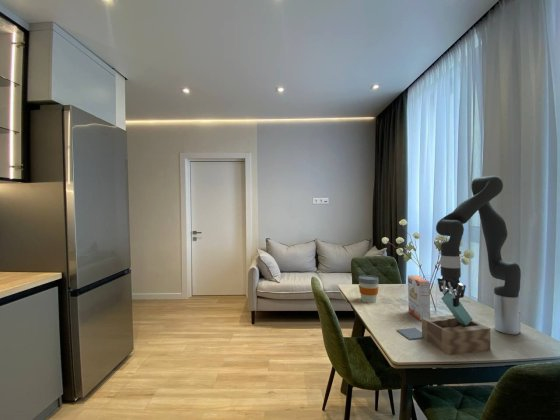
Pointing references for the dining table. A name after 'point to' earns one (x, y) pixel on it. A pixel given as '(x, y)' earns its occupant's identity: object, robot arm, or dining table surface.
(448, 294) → the teal block
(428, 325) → the board
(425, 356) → the dining table surface
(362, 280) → the reusable coffee cup
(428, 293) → the cracker box
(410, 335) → the grey mat
